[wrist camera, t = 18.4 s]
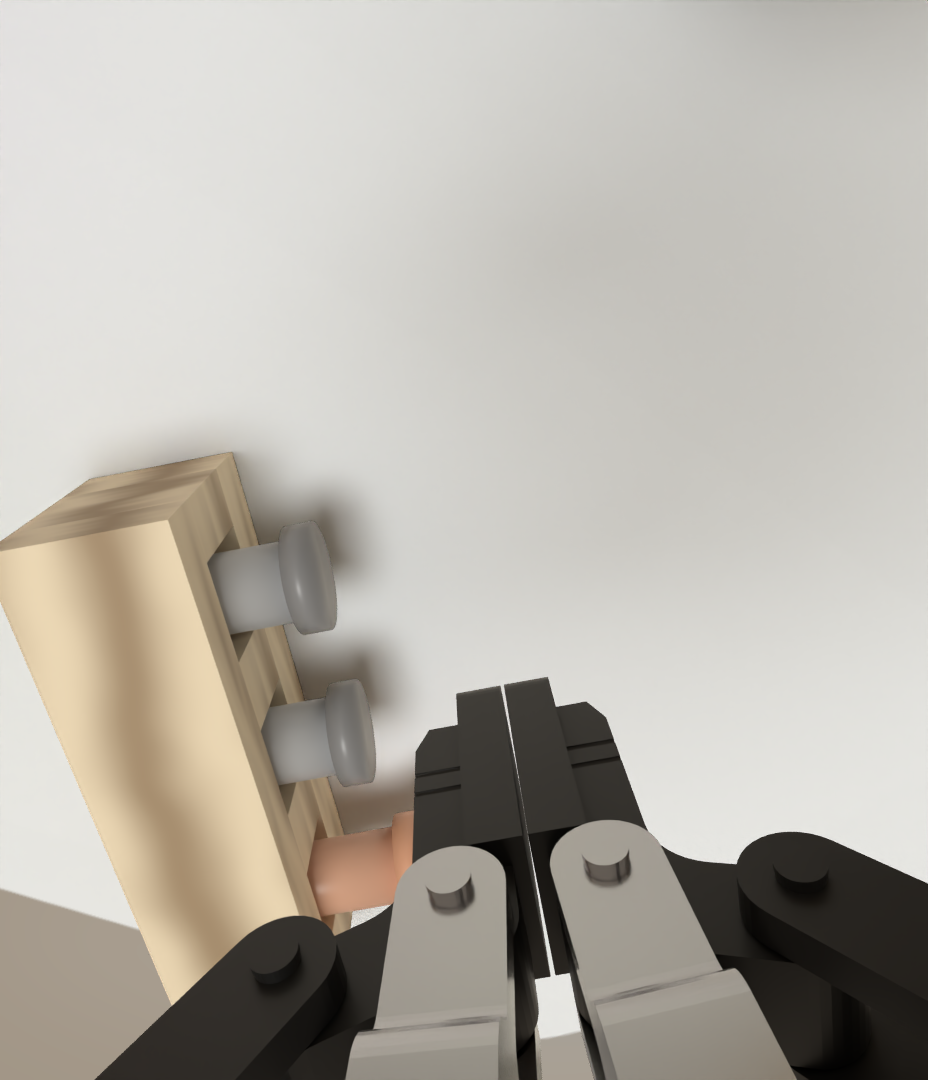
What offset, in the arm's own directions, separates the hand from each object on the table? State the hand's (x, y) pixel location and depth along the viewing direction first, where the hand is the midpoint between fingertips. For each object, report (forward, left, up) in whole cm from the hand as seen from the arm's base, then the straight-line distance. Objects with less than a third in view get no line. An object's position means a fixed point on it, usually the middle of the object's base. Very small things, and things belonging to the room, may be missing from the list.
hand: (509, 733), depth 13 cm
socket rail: (+14, +13, -27) cm, 33 cm away
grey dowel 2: (+13, +13, -24) cm, 30 cm away
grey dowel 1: (+13, +5, -24) cm, 28 cm away
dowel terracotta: (+11, +21, -24) cm, 34 cm away
